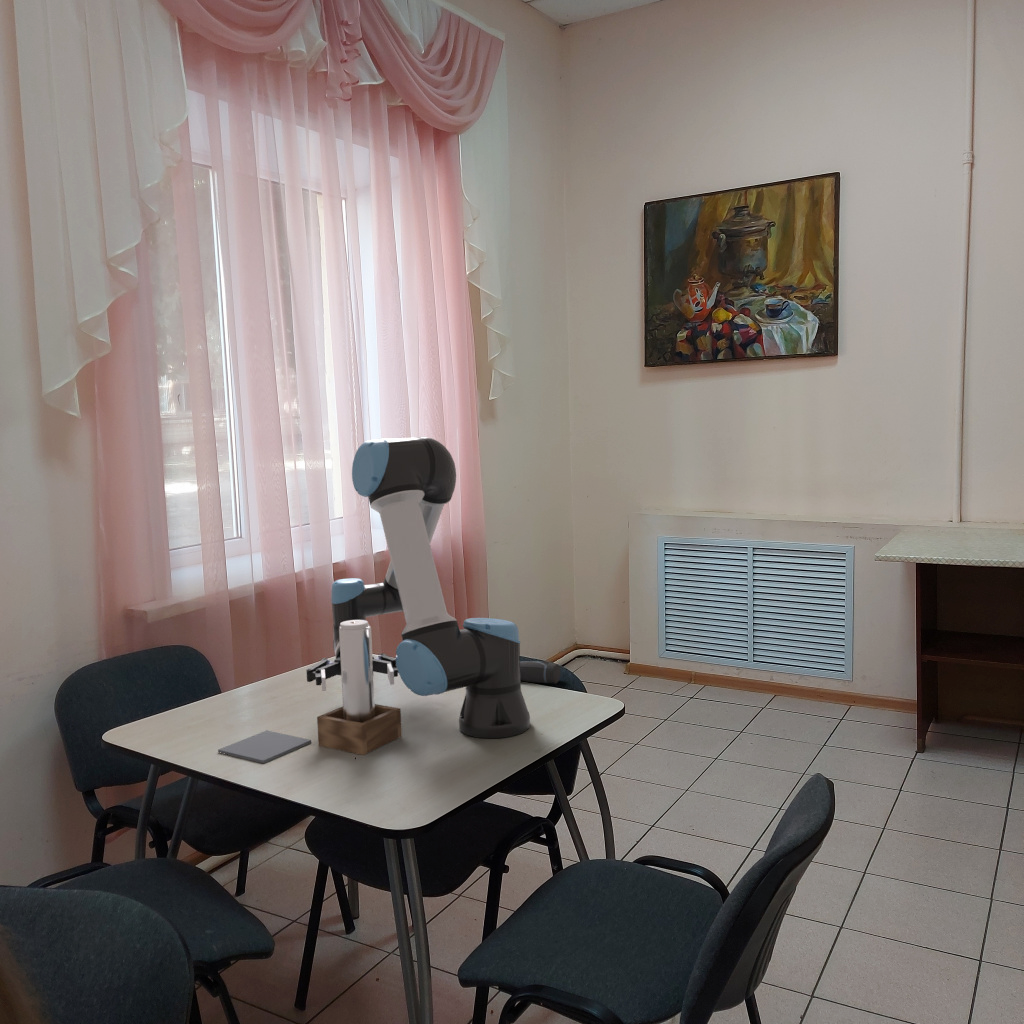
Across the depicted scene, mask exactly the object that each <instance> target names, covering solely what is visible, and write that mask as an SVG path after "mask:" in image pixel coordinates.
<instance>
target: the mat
mask: <svg viewBox="0 0 1024 1024" xmlns="http://www.w3.org/2000/svg"><path fill="white" fill-rule="evenodd" d="M309 744H312V740H311V739H309V738H304V737H299V736H294V735H290V734H286V733H282V732H276V731H272V730H265V731H261V732H260V733H257V734H254V735H252V736H249V737H246V738H245V739H244V738H243V739H242V740H239V741H236V742H234V743H231V744H229V745H226V746H224V747H222V748H219V749H217V753H218V752H221V753H220V754H222V753H225V754H224V755H227V754H228V756H231V757H235V758H240V759H244V760H248V761H252V762H256V763H259V764H266V763H268V762H270V761H273V760H275V759H277V758H279V757H282V756H284V755H287V754H289V753H292V752H293V751H295V750H296V751H297V750H298V749H300V748H303V747H305V746H308V745H309Z"/></svg>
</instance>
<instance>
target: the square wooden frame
mask: <svg viewBox="0 0 1024 1024" xmlns="http://www.w3.org/2000/svg"><path fill="white" fill-rule="evenodd" d="M401 715H402V713H401V708H399V707H394V706H389V705H382V704H378V703H375V717H374V718H371V719H369V720H367V721H365V722H362V723H359V722H354V721H349V720H344V717H343V706H340V707H337V708H336V709H333V710H331V711H328V712H326V713H323V714H321V715H318V716H317V717H316V721H317V737H318V738H317V739H318V741H317V742H318V743H317V744H318V746H320V747H325V748H328V749H333V750H338V751H342V752H343V751H344V752H348V753H352V754H357V755H361V756H365V755H367V754H368V753H371V752H373V751H375V750H377V749H379V748H381V747H383V746H385V745H388V744H390V743H392V742H393V741H396V740H397V739H399V738H402V737H403V734H402V716H401Z"/></svg>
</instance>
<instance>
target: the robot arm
mask: <svg viewBox="0 0 1024 1024" xmlns="http://www.w3.org/2000/svg"><path fill="white" fill-rule="evenodd" d="M456 469H457V468H456V465H455V460H454V459H453V456H452V454H451V452H450V451H449V450H448V449H447V447H446V446H445V445H443V444H442V443H441V442H440V441H438V440H436V439H434V438H430V437H428V436H427V437H425V436H418V437H404V438H403V437H401V438H385V437H383V438H382V437H381V438H379V439H370V440H366V441H364V442H363V443H362V444H361V445H360V446H359V447H358V448H357V450H356V452H355V455H354V457H353V461H352V467H351V479H352V485H353V488H354V490H355V491H356V492H357V494H358V495H359V496H361V497H364V498H368V501H369V505H370V508H371V509H372V510H374V511H375V512H377V513H378V514H379V515H380V520H381V525H382V528H383V531H384V532H383V533H384V537H385V540H386V544H387V549H388V554H389V558H390V561H389V563H388V564H389V565H388V567H387V571H386V573H385V576H384V579H383V582H379V583H372V584H365V582H364V580H362V579H361V578H357V577H356V578H355V577H354V578H353V577H350V578H341V579H336V580H335V581H333V582H332V584H331V597H330V598H331V599H330V601H331V609H332V610H331V611H332V620H333V621H332V623H333V626H332V629H333V630H332V632H333V641H332V643H333V644H332V645H333V647H332V648H333V651H334V657H335V658H334V660H333V661H331V660H330V659H328V658H327V657H323V658H321V660H320V661H319V662H317V663H315V664H313V665H311V666H310V667H308V668H307V669H306V681H307V683H308V682H309V683H311V682H314V681H315V685H316V686H321V691H322V692H326V691H327V684H326V683H327V680H328V679H331V678H333V677H335V676H341V658H340V638H339V627H340V623H341V622H344V621H349V620H365V621H367V620H366V619H367V618H370V617H375V616H376V617H377V616H381V615H387V614H394V613H400V612H401V613H402V612H403V615H404V620H405V623H406V624H405V626H404V628H403V630H402V632H401V638H402V641H401V642H400V643H398V645H397V648H396V650H395V654H396V655H395V658H394V657H391V656H389V655H387V654H386V653H383V652H382V653H379V655H378V657H374V656H373V673H379V674H384V675H387V678H388V681H389V684H390V685H395V678H396V677H398V676H399V677H400V679H401V681H402V682H403V684H404V685H405V686H406V688H407V689H409V690H410V692H413V694H415V695H417V696H420V697H427V696H432V695H433V696H434V695H440V694H444V693H445V692H446V693H447V692H451V691H454V690H459V689H462V688H465V695H464V699H463V702H462V705H461V709H460V712H459V717H458V727H459V731H460V732H461V733H463V734H464V735H467V736H470V737H475V738H480V739H481V738H482V739H483V738H484V739H498V738H500V739H501V738H508V737H512V736H513V735H514V736H517V735H520V734H523V733H524V731H525V732H527V731H528V730H529V729H530V727H531V716H530V712H529V711H528V707H527V704H526V700H525V699H524V698H525V697H524V696H523V692H522V688H521V682H522V681H521V680H520V662H521V654H520V652H521V650H520V649H521V648H520V647H521V646H520V644H521V640H520V633H519V627H518V625H517V624H516V623H514V622H513V621H510V620H505V619H501V618H500V619H499V618H491V617H490V618H489V617H471V618H466V619H465V620H464V621H463V624H462V628H461V629H460V628H459V623H458V620H457V618H455V617H453V616H452V615H450V613H448V609H447V606H446V603H445V599H444V598H445V597H444V595H443V589H442V586H441V583H440V578H439V574H438V570H437V566H436V563H435V558H434V555H433V552H432V547H431V542H432V540H433V536H434V534H435V531H436V529H437V526H438V523H439V520H440V518H441V514H442V512H443V510H444V509H443V508H444V506H445V505H446V504H449V502H451V500H452V497H453V494H454V492H455V488H456V483H457V470H456ZM528 728H529V729H528ZM527 729H528V730H527ZM522 732H523V733H522Z"/></svg>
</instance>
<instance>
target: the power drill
mask: <svg viewBox="0 0 1024 1024" xmlns="http://www.w3.org/2000/svg"><path fill="white" fill-rule="evenodd" d="M560 678H561V667H560V665H559V664H558V663H553V662H547V661H535V660H529V661H527V660H525V661H522V660H520V682H526V683H527V682H528V683H538V684H554V685H556V684H558V682H559V681H560Z"/></svg>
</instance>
